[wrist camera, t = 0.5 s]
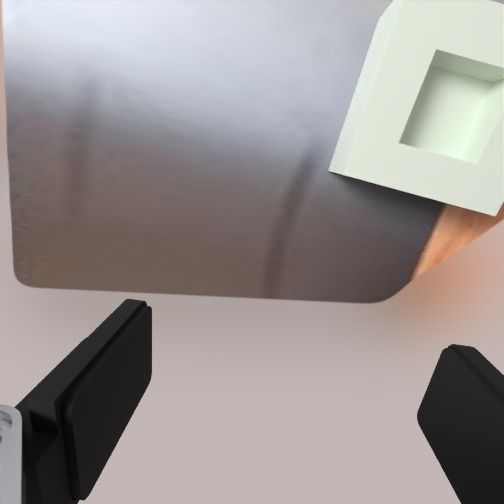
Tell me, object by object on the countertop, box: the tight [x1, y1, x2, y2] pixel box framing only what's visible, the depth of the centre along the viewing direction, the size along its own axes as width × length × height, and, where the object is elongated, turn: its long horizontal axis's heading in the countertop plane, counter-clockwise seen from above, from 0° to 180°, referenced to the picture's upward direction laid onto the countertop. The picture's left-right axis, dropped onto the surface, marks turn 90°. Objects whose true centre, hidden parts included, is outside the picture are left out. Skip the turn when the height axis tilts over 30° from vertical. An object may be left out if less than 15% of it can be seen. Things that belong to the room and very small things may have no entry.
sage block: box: [328, 0, 504, 216], centre depth 30 cm, size 16×16×8 cm
